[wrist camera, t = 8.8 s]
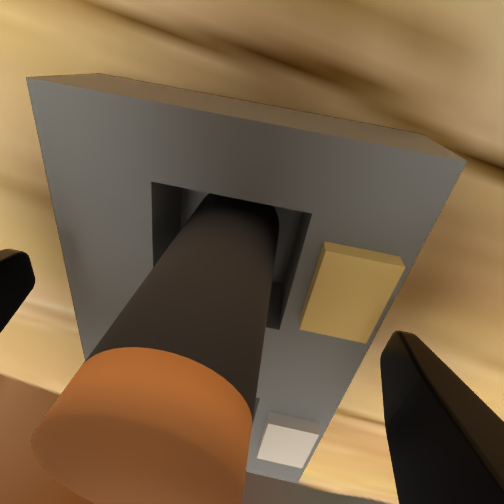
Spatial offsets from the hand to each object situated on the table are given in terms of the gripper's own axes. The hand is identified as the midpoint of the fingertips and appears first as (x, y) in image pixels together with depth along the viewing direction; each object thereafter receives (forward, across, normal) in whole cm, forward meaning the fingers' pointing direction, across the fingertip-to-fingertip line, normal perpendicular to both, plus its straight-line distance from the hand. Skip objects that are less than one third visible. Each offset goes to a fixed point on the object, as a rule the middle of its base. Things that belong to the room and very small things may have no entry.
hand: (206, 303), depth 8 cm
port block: (+5, 0, +4) cm, 6 cm away
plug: (+4, 0, 0) cm, 4 cm away
